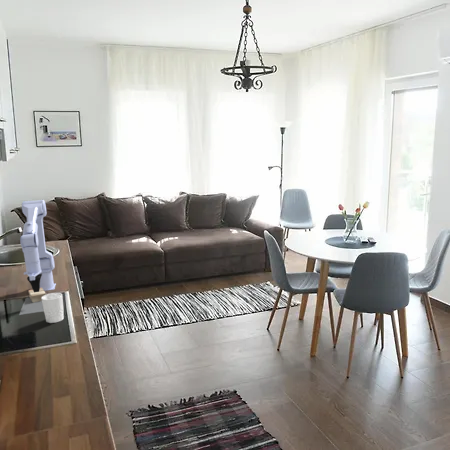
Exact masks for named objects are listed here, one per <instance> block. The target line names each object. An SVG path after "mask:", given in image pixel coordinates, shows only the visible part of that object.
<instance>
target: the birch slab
mask: <svg viewBox="0 0 450 450" xmlns="http://www.w3.org/2000/svg"><path fill="white" fill-rule="evenodd" d="M44 295H47V293H46V291H44V290H43V288H40V290H39V292H34V291H33V289H29V290H28V296H29V297H30V299H31V301H32V302H38V301H42V299H41V298H42V297H43V296H44Z"/></svg>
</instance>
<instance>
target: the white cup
mask: <svg viewBox="0 0 450 450" xmlns="http://www.w3.org/2000/svg"><path fill="white" fill-rule="evenodd" d="M63 298H64V297H63V294H62V292H51V293H48V294H47V293H46V295H44V296H43V297H42V298H41V299H42V304H43V309H44V311H43V313H44V317H45V322H46V323H49V324H53V323H59V322H61V321H63V320H64V318H65V315H64V313H65V312H64V300H63Z"/></svg>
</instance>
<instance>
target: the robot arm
mask: <svg viewBox="0 0 450 450" xmlns="http://www.w3.org/2000/svg"><path fill="white" fill-rule="evenodd" d="M21 211H22V213H23V214H24V216H25V217H26V222H25V223H24V224H23V227H22V228H23V230H22V235H21V236H20V238H19V240H20V246H21V249H22V253H23V257H24V264H25V271H24V272H23V275H24V276H25V275H26V276H27V278H26V280H27V281H28V283H29V284H30V286H31V288H32V289H31V290H33V291H34V292H39V290H40V288H43V290H44V291H45V292H46V291H54V290H55V289H56V285H57V283H54V282H55V281H54V276H53V271H54V269H55V259H54V255H53V253H52V252H49V251H48V250H47V246H46V238H45V230H44V217H46V216H47V206H46V201H45V200H44V199H38V200H37V199H36V200H26V201H25V200H22V202H21Z"/></svg>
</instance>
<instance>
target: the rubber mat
mask: <svg viewBox="0 0 450 450" xmlns="http://www.w3.org/2000/svg"><path fill="white" fill-rule="evenodd" d="M41 312H42V313H44V309H43V304H42V301H38V302H32V301H31V299H30V297H25V299H24V301H23V304H22V306H21V309H20V311H19V314H18V315H19V316H21V315H28V314H35V313H41Z"/></svg>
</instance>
